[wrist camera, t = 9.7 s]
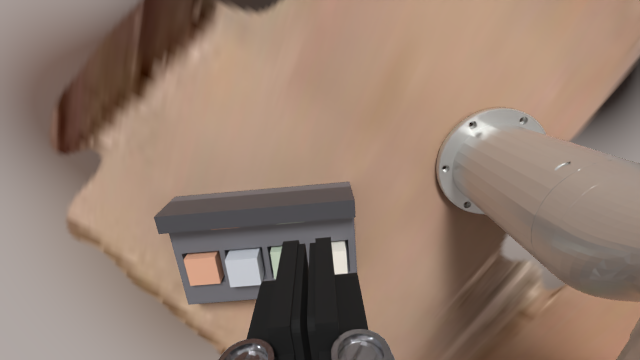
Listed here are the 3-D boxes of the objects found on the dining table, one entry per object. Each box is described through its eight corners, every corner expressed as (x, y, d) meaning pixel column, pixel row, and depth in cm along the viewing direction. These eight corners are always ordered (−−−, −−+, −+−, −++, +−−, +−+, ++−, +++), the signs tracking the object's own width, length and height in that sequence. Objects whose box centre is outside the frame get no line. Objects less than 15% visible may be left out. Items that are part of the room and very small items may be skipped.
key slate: (260, 246, 39) (256, 257, 36) (264, 272, 40) (261, 284, 38) (229, 249, 39) (224, 260, 36) (235, 274, 40) (230, 287, 38)
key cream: (344, 239, 39) (346, 250, 36) (346, 265, 40) (347, 277, 37) (313, 242, 39) (313, 253, 36) (316, 267, 40) (316, 280, 38)
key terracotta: (220, 246, 40) (214, 257, 37) (225, 271, 41) (220, 283, 39) (191, 248, 40) (183, 259, 37) (197, 273, 41) (190, 285, 39)
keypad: (349, 181, 39) (354, 199, 34) (354, 273, 43) (360, 302, 38) (175, 196, 39) (154, 217, 34) (198, 286, 44) (182, 316, 39)
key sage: (302, 239, 39) (301, 249, 37) (305, 264, 41) (304, 276, 38) (272, 241, 40) (270, 252, 37) (276, 267, 41) (274, 279, 38)
